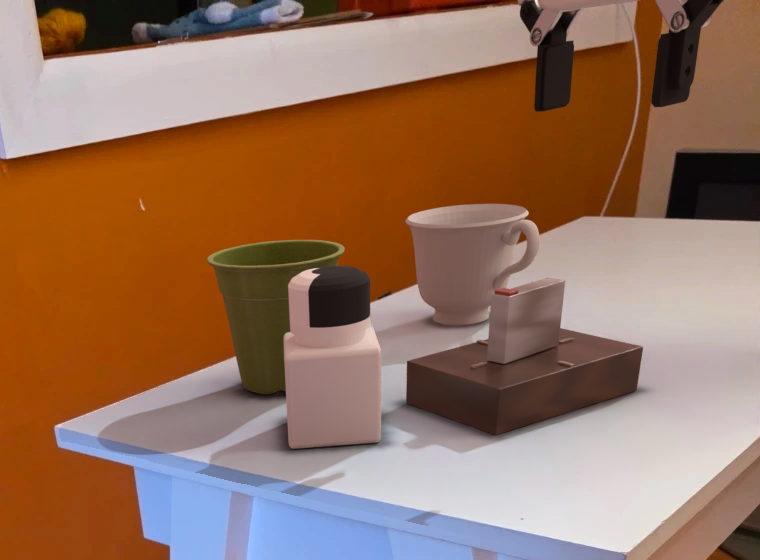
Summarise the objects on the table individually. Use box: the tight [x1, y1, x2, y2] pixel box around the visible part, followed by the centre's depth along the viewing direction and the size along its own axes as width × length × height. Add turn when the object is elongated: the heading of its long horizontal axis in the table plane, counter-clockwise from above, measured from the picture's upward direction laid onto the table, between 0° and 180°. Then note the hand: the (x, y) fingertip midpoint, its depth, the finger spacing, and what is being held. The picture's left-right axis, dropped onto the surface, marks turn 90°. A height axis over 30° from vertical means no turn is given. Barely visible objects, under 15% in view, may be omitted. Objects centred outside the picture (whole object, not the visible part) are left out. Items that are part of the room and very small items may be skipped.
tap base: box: [405, 327, 644, 436], centre depth 78 cm, size 15×11×4 cm
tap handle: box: [487, 277, 566, 364], centre depth 76 cm, size 6×2×5 cm, turn 125°
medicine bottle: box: [284, 265, 382, 450], centre depth 73 cm, size 7×7×12 cm
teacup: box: [404, 203, 541, 326], centre depth 98 cm, size 12×15×10 cm
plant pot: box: [206, 239, 346, 395], centre depth 85 cm, size 12×12×11 cm
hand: (607, 106), depth 67 cm, fingers open, 9 cm apart
